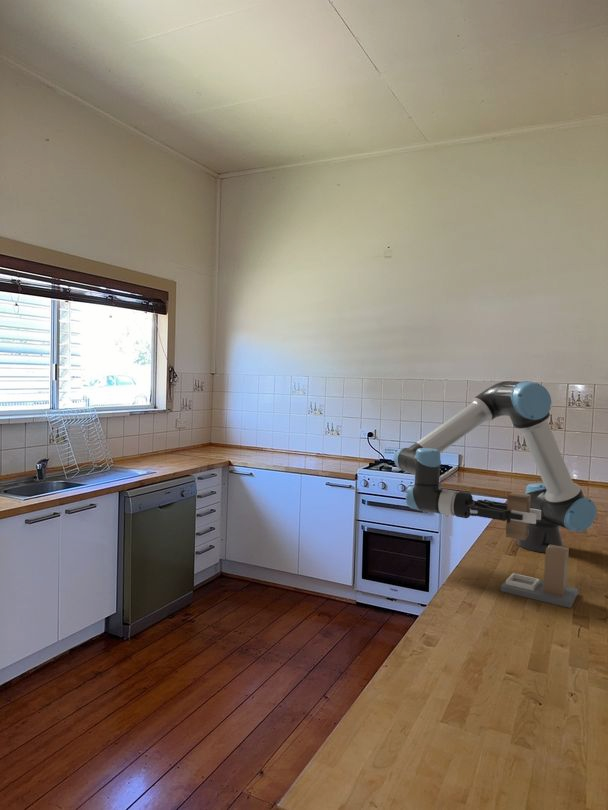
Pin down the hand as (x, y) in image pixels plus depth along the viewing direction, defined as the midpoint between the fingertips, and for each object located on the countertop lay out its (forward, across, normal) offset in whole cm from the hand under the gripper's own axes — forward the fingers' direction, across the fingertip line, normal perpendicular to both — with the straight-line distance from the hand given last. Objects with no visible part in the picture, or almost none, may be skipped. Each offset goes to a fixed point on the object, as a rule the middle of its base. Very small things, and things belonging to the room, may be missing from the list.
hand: (538, 517), depth 155 cm
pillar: (-5, 0, -6) cm, 8 cm away
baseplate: (+1, -1, -22) cm, 22 cm away
